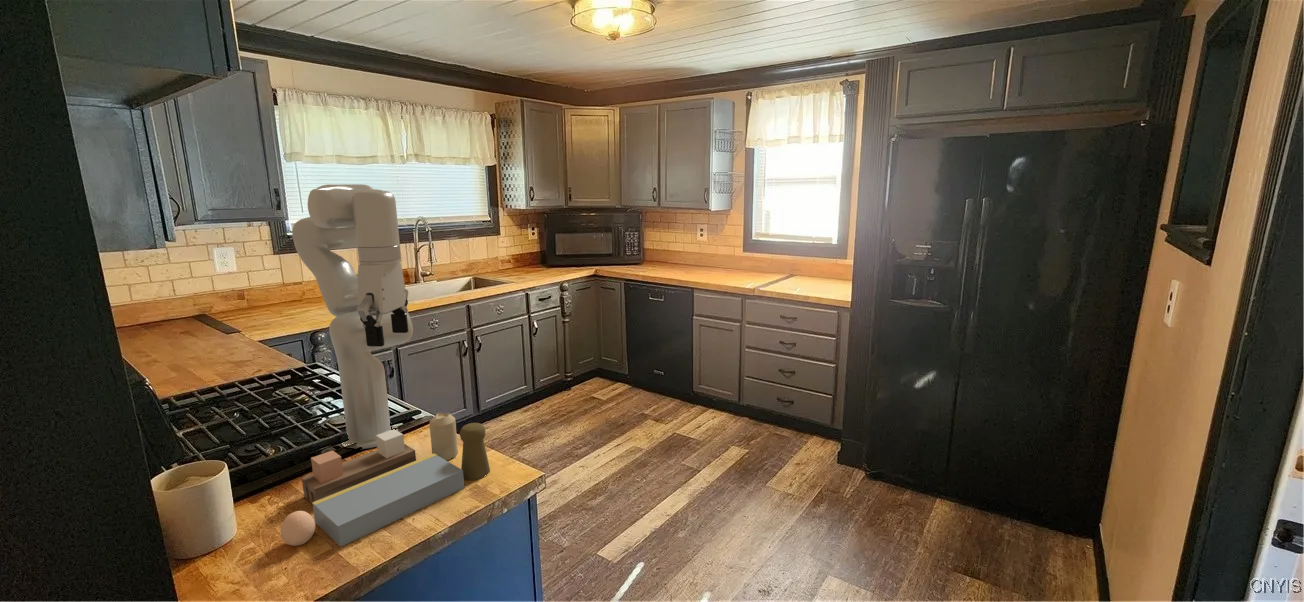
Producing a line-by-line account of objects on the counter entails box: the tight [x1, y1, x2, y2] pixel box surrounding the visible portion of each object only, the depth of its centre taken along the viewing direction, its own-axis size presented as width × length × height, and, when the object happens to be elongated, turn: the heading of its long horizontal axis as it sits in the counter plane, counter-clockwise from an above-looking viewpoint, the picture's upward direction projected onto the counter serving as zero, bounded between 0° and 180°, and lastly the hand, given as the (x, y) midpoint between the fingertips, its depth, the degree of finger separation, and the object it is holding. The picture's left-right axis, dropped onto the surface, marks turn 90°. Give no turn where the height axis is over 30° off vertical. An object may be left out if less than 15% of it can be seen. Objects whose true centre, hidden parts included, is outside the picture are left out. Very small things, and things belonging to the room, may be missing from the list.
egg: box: [280, 510, 316, 547], centre depth 95 cm, size 5×5×6 cm
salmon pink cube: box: [310, 450, 343, 483], centre depth 109 cm, size 4×4×4 cm
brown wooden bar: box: [301, 443, 417, 504], centre depth 115 cm, size 6×20×4 cm, turn 141°
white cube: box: [376, 429, 405, 458], centre depth 119 cm, size 4×4×4 cm
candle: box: [429, 412, 459, 461], centre depth 125 cm, size 6×6×10 cm
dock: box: [311, 453, 465, 548], centre depth 107 cm, size 11×24×4 cm, turn 141°
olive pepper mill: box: [459, 422, 491, 481], centre depth 118 cm, size 6×6×11 cm
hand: (388, 339), depth 112 cm, fingers open, 9 cm apart
